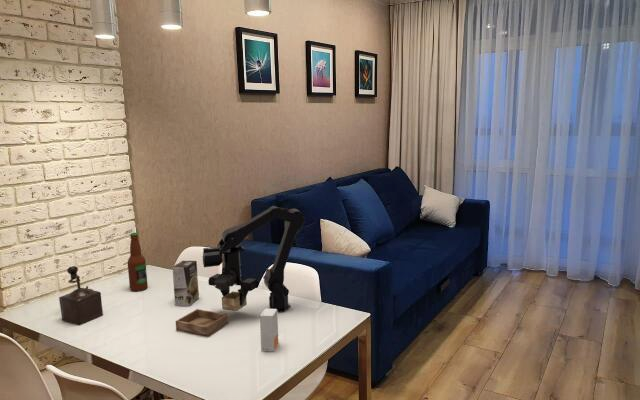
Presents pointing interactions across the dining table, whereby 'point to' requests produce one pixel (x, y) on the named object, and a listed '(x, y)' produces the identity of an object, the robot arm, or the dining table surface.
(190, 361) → the dining table surface
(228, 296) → the small crate
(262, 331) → the skincare box
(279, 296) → the robot arm
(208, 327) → the big crate
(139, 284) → the bottle
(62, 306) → the manual coffee grinder
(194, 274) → the coffee box
